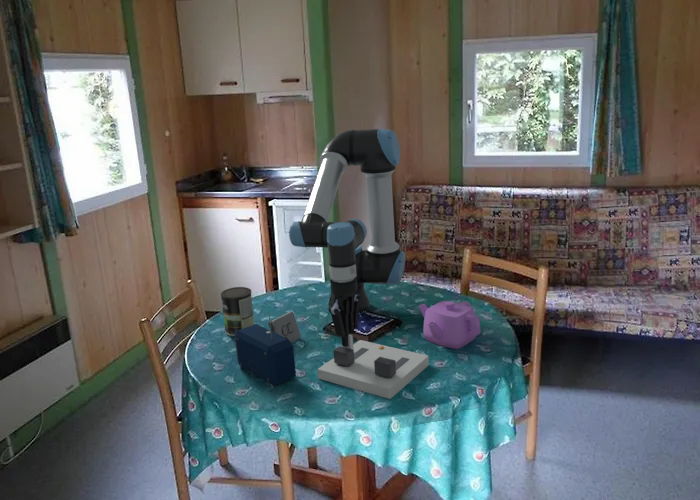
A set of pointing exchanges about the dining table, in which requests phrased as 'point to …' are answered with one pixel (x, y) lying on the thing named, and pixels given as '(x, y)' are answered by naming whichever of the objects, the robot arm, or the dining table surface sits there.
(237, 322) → the coffee can
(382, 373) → the block
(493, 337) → the dining table surface
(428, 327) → the teakettle
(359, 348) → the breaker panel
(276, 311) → the dining table surface
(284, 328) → the electrical switch
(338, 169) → the robot arm
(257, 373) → the radio
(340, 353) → the block
